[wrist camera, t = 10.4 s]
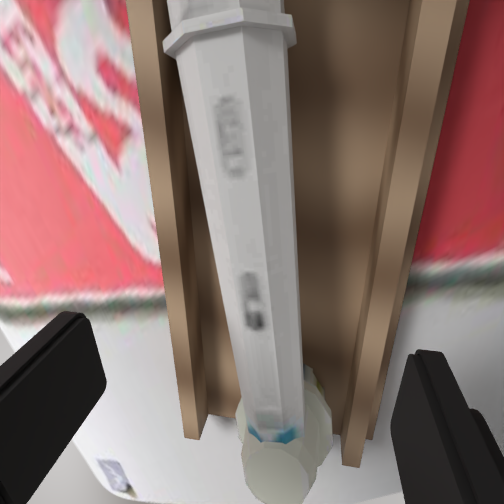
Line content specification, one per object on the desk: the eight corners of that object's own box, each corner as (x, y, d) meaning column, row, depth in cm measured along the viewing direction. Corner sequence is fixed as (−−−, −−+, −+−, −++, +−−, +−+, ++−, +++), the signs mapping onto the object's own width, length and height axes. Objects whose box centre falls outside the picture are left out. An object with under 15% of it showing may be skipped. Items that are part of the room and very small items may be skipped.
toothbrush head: (294, -167, 8) (337, 561, 15) (306, -30, 14) (333, 439, 21) (104, -105, 9) (225, 544, 16) (192, -4, 16) (252, 433, 22)
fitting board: (112, -207, 12) (-114, -533, 6) (518, -275, 10) (862, -912, 4) (186, 398, 25) (141, 500, 19) (370, 426, 23) (389, 552, 16)
